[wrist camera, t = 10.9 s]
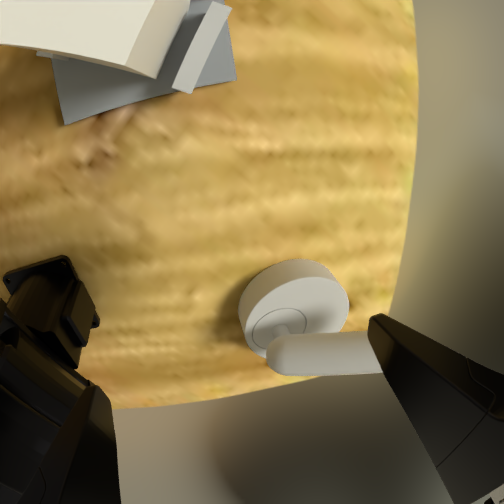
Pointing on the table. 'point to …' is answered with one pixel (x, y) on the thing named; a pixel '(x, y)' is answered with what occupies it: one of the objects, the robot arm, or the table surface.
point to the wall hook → (303, 322)
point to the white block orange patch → (96, 30)
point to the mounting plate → (169, 78)
